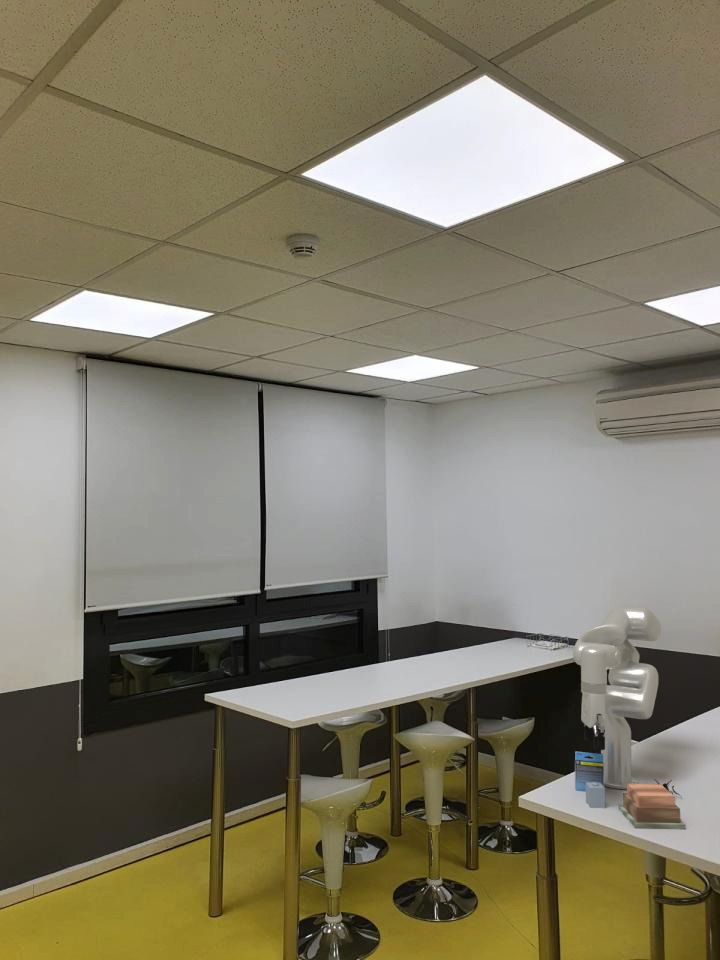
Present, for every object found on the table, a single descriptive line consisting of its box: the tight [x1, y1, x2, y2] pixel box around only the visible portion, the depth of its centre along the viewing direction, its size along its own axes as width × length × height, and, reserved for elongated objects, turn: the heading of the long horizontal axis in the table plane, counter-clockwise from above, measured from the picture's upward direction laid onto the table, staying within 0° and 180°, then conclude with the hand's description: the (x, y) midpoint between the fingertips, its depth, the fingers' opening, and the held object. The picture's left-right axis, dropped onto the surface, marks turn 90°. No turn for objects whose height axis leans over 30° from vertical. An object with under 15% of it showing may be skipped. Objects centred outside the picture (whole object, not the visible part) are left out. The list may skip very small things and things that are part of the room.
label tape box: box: [574, 751, 605, 792], centre depth 235 cm, size 9×4×12 cm, turn 74°
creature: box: [653, 778, 683, 799], centre depth 229 cm, size 8×5×8 cm
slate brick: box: [585, 782, 606, 809], centre depth 222 cm, size 4×4×7 cm
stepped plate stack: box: [618, 783, 686, 830], centre depth 212 cm, size 14×14×8 cm
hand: (594, 745), depth 223 cm, fingers open, 9 cm apart
